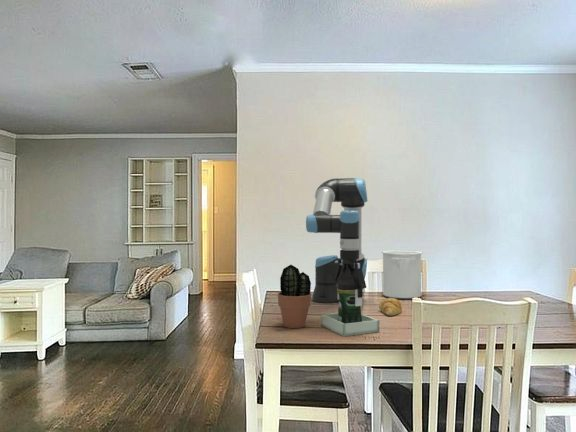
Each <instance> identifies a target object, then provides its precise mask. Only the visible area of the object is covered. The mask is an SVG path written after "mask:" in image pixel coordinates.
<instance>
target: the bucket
mask: <svg viewBox="0 0 576 432" xmlns="http://www.w3.org/2000/svg"><path fill="white" fill-rule="evenodd" d="M381 254H382V268H383V269H382V294H383V296H384V297H385V298H386V299H388V298H395V299H397V300H401V301H403V300H406V301H407V300H410V301H411V300H413V299H412V298H414V297H418V299H419V298H421V296H422V254H423V252H422V251H416V250H401V249H400V250H397V249H395V250H393V249H392V250H383V251H381Z"/></svg>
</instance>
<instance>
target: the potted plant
mask: <svg viewBox="0 0 576 432" xmlns="http://www.w3.org/2000/svg"><path fill="white" fill-rule="evenodd" d="M279 280H280V281H279V282H280V292H278V293H277V302H278V303H277V304H278V306H279V308H280V314H281V319H282V324H283V326H284V327H285V328H289V329H301V328H304V327H305V326H306V324H307V323H306V322H307V319H308V318H307V317H308V314H309V313H308V312H309V308H310V306H311V303H312V293H311V288H312V286H311V285H312V282H311V279H310V275H308V274H306V273H305V272H304V271H302V272H300V269H299V268H297V267H296V266H294V265H293V264H289V265H287V266H286V267H284V268H283V269H282V272H281V275H280V278H279Z"/></svg>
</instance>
